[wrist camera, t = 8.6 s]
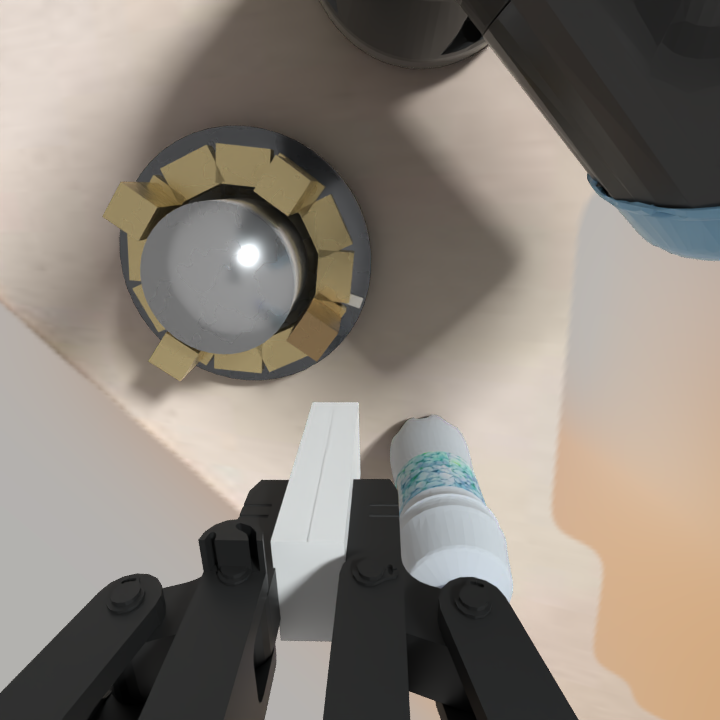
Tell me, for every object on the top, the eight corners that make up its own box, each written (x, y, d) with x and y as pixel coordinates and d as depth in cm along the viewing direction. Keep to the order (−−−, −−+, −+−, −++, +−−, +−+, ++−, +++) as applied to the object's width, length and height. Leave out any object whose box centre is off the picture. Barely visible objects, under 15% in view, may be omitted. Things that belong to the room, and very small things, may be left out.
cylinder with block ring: (98, 287, 36) (56, 303, 31) (204, 94, 32) (175, 78, 27) (276, 402, 39) (263, 434, 34) (396, 239, 35) (400, 248, 30)
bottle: (378, 467, 44) (385, 684, 25) (396, 398, 41) (418, 579, 22) (453, 482, 44) (516, 707, 25) (475, 414, 42) (562, 605, 23)
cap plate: (157, 89, 34) (87, 58, 26) (405, 180, 36) (416, 179, 27) (113, 330, 40) (44, 369, 31) (328, 399, 41) (318, 454, 33)
